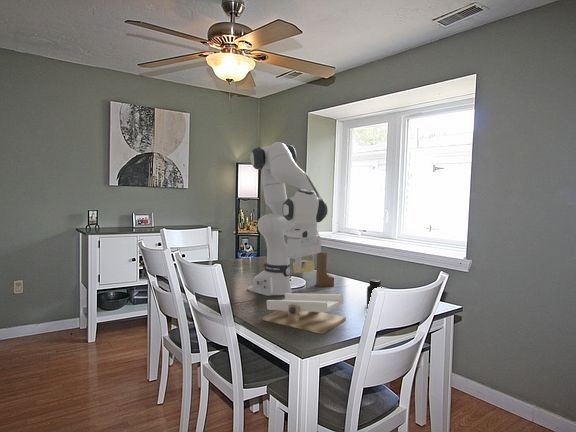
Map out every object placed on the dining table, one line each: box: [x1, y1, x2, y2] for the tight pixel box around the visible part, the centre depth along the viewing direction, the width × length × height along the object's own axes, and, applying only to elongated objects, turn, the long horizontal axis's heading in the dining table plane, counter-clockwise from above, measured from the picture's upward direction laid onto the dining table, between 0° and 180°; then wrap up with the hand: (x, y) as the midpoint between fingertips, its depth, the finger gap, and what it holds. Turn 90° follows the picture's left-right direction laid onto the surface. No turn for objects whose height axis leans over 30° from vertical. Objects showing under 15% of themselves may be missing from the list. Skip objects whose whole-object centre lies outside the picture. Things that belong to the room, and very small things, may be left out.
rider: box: [292, 259, 316, 274], centre depth 154 cm, size 6×6×4 cm
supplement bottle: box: [366, 278, 383, 308], centre depth 175 cm, size 7×7×12 cm
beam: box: [266, 292, 344, 313], centre depth 155 cm, size 26×14×4 cm, turn 58°
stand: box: [261, 304, 347, 335], centre depth 155 cm, size 26×20×8 cm
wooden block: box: [315, 250, 335, 287], centre depth 214 cm, size 9×4×18 cm, turn 97°
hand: (304, 267), depth 154 cm, fingers closed on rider, 6 cm apart
